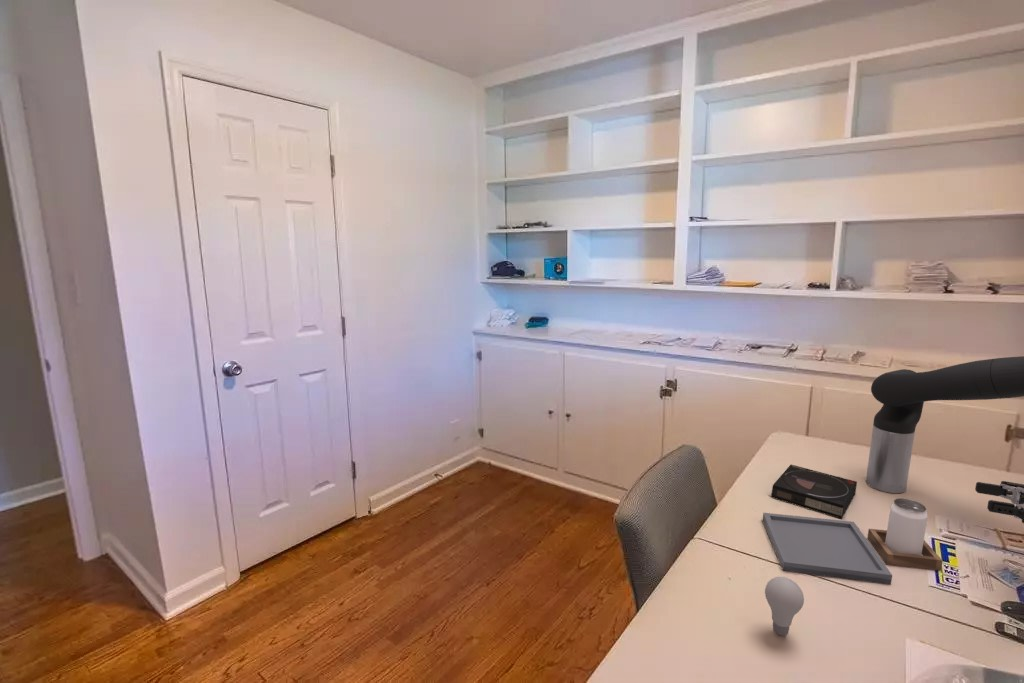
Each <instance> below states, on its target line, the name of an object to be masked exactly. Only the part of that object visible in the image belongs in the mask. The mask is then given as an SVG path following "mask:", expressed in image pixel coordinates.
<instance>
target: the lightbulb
mask: <svg viewBox="0 0 1024 683" xmlns="http://www.w3.org/2000/svg"><path fill="white" fill-rule="evenodd" d="M764 594H765V599H766V601H767V603H768V606H769V607H770V610H771V620H772V631H773V632H774V633H776V634H777V635H779V636H784V637H785V636H787V635H788V634H789V631H790V626H791V625H792V623H793V622H792V621H793V620H794V617H795V615H796V614H799V612H800V611H801V609H802V608H803V607H804V603H805V596H804V592H803V591H802V588H801V587H800V586H799V584H798V583H797V582H795V581H794V580H792V579H791V578H788V577H785V576H775V577H772V578H771V579H770V580H769V581H767V583H766V585H765V589H764Z"/></svg>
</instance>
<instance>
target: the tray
mask: <svg viewBox="0 0 1024 683" xmlns="http://www.w3.org/2000/svg"><path fill="white" fill-rule="evenodd" d="M762 522H763V525H764V527H765V530H766V532H767V535H768V537H769V538H768V539H769V540H770V542H771V545H772V547H773V549H774V552H775V555H776V557H777V559H778V561H779V564H780V566H781V567H780V568H781V569H782V572H785V573H786V572H787V573H796V574H802V575H804V574H805V575H812V576H819V577H827V578H835V579H842V580H843V579H844V580H850V581H851V580H852V581H859V582H865V583H866V582H868V583H873V584H874V583H875V584H882V585H892V578H893V574H892V572H891V571H890V570H889V569H888V567H887V566H886V563H885V562H883V559H882V558H881V556H880V555H879V554H878V552H877V551H876V549H875V548H874V547H872V546H873V545H872V544H871V542H870V541H869V540H868V538H866V536H865V535H864V533H862V530H860V528H859V526H858V525H857V524H856V522H855V521H851V520H850V521H849V520H841V519H830V518H819V517H809V516H800V515H791V514H790V515H789V514H780V513H773V512H772V513H771V512H763V513H762Z"/></svg>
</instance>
